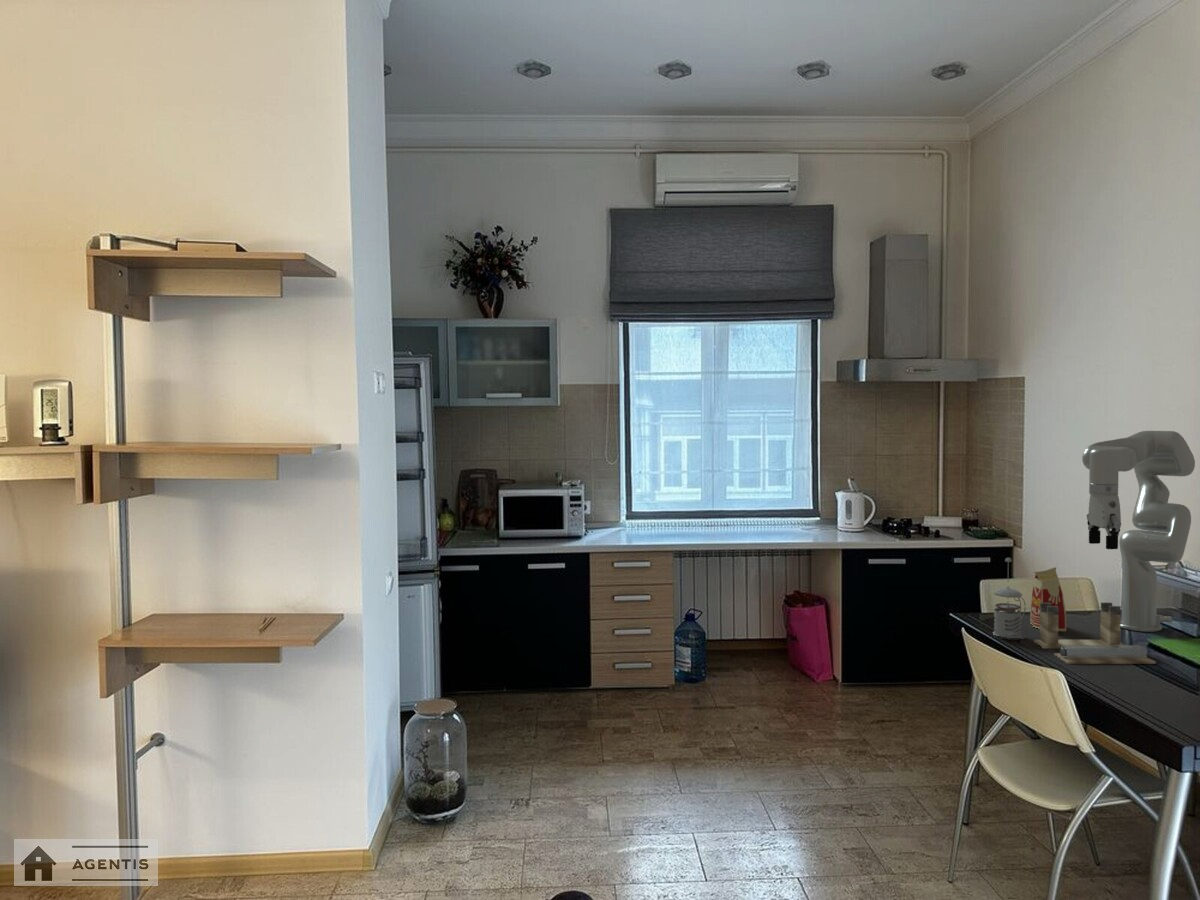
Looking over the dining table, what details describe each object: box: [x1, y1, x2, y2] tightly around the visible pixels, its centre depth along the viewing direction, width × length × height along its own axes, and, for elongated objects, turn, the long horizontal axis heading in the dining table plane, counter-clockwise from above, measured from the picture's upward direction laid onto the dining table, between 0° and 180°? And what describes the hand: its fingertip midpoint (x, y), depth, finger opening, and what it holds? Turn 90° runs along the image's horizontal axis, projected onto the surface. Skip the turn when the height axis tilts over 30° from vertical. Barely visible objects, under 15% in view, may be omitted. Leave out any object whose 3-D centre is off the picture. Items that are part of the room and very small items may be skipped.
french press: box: [992, 557, 1026, 638], centre depth 269 cm, size 10×12×25 cm
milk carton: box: [1029, 566, 1067, 632], centre depth 278 cm, size 9×9×20 cm
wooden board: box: [1053, 652, 1157, 665], centre depth 244 cm, size 24×8×1 cm, turn 87°
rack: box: [1033, 602, 1126, 649], centre depth 257 cm, size 24×6×12 cm, turn 87°
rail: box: [1058, 644, 1150, 659], centre depth 244 cm, size 24×3×3 cm, turn 87°
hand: (1103, 546), depth 257 cm, fingers open, 9 cm apart
